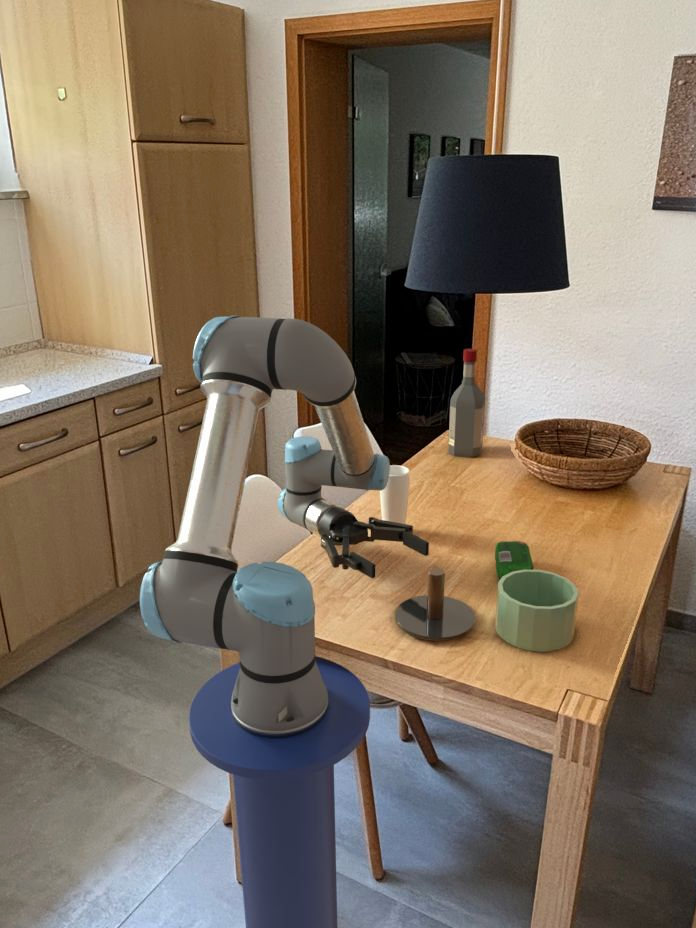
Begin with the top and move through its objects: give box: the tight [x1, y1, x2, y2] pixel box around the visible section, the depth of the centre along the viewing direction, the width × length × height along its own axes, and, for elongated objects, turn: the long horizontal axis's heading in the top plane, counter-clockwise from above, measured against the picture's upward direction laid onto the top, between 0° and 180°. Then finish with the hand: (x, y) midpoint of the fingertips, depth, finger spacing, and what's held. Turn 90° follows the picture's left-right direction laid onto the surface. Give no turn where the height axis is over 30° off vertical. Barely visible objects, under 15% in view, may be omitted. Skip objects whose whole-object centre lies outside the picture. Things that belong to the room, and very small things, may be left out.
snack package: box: [494, 540, 535, 582], centre depth 156 cm, size 7×16×5 cm, turn 173°
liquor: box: [447, 348, 486, 458], centre depth 219 cm, size 9×9×30 cm
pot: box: [494, 569, 580, 653], centre depth 136 cm, size 14×14×8 cm
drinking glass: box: [378, 464, 411, 524], centre depth 173 cm, size 7×7×15 cm
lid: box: [394, 567, 476, 641], centre depth 139 cm, size 15×15×10 cm
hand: (401, 560), depth 145 cm, fingers open, 13 cm apart
